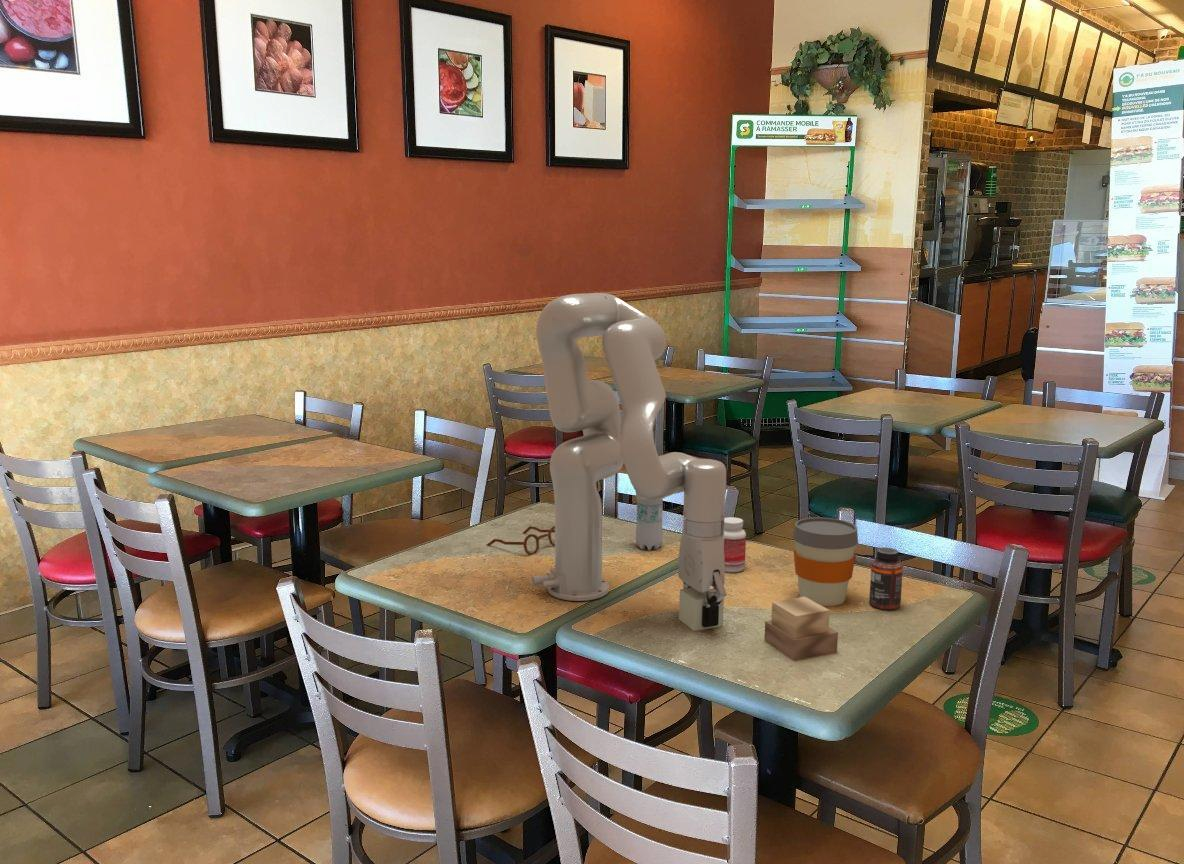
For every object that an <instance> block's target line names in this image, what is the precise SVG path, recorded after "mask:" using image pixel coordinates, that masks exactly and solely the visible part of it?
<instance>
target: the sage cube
mask: <svg viewBox="0 0 1184 864" xmlns="http://www.w3.org/2000/svg"><path fill="white" fill-rule="evenodd" d="M709 589H714V588H713V587H712V586H710V588H709ZM708 594H709V599H710V598H711V597H712V596H714V593H713V592H712V593H708ZM724 602H725V598H724V599H723V600H722V602H721V605H720V606H719V621H718V625H716V626H711V627H703V626H702V606H705V604H704V598H703V593H700V592H698V591H696V590H695V589H693V588H685V589H683V588H680V589H679V603H678V604H679V605H678V606H679V610H678V611H679V612H678V620H679V621H681V623H683V624H684V625H686V626H688V628H690V629H691V630H692V631H694V632H697V631H703V630H707V629H708V630H710V629H714V628H722V627H724V608H725V607H724V606H725V605H724V604H725V603H724Z"/></svg>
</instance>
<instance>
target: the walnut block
mask: <svg viewBox="0 0 1184 864" xmlns="http://www.w3.org/2000/svg"><path fill="white" fill-rule="evenodd" d="M838 638H839V632H838V631H837V630H835V629H833V628H831V627H830V626H829V628H828V632H825V633H820V634H815V635H809V636H804V637H799V638H794V637H792V636H790V635H789V634H787V633H786V632H784V631H782V630H781V629H779V628H778V627H776V626H775V625H773V624H771V620H765V621H764V638H763V639H764V642H766V643H767V644H769V645H770V646H772V647H773V648H774V649H777V650H778V651H779V652H780V653H781V654H783V655H785V656H786V657H788V658H790V659H791V660H792V661H798V660H802V659H808V658H809V659H810V658H813V657H814V658H815V657H819V656H825V655H829V654H834V653H837V652H838V643H839V642H838V640H839V639H838Z"/></svg>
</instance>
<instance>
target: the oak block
mask: <svg viewBox="0 0 1184 864" xmlns="http://www.w3.org/2000/svg"><path fill="white" fill-rule="evenodd" d="M771 603H772V605H771V624H773V625H775V626H776V627H778V628H779V629H781V630H782V631H784V632H786V633H787V634H789V635H790V636H792V637H794V638H799V637H804V636H809V635H815V634H820V633H825V632H828V628H829V627H830V626H829V625H830V623H829V622H830V609H829V608H826V606H821V605H819V604H817V603H816V602H814V601H812V600H810V599H808V598H807V597H795V598H794V597H793V598H789V599H784V600H777V601H772V602H771Z"/></svg>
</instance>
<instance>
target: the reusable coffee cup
mask: <svg viewBox="0 0 1184 864" xmlns="http://www.w3.org/2000/svg"><path fill="white" fill-rule="evenodd" d="M858 535H859V534H858V526H856V525H855V524H854V523H851V522H849V521H847V520H844V519H838V518H831V517H806V518H802V519H798V520H797V521H795V522H794V528H793V536H792V538H793V540H794V546H795V547H794V549H793V559H794V560H793V561H794V573H795V574H796V575H797V582H798V583H797V584H798V585H797V586H798V594H799V595H798V596H799V597H807V598H808V599H810V600H812V601H814V602H816V603H817V604H819V605H821V606H823V607H835V606H839V605H842V604H843V603H845V600H846V597H847V591H848V586H849V582H850V580H851V578H852V576H853V573H854V568H855V567H854V566H855V564H856V563H855V562H856V554H855V550H856V546H857V545H858V544H859V539H858V537H859V536H858ZM799 597H798V598H799Z"/></svg>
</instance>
